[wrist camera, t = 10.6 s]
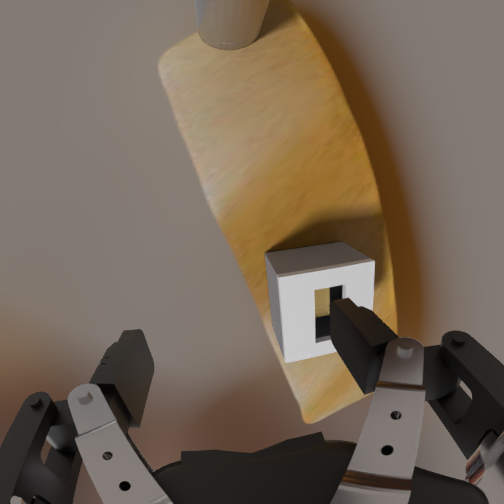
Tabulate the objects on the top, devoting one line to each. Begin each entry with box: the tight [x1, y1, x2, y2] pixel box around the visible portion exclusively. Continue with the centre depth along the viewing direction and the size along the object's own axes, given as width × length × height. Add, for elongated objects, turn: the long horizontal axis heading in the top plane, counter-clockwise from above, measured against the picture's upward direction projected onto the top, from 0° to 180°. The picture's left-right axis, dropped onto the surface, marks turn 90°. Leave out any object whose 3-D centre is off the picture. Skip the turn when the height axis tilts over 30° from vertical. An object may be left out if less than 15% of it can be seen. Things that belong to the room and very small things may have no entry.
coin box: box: [265, 242, 375, 363], centre depth 37 cm, size 12×12×10 cm
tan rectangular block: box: [314, 287, 330, 318], centre depth 38 cm, size 5×2×6 cm, turn 7°
